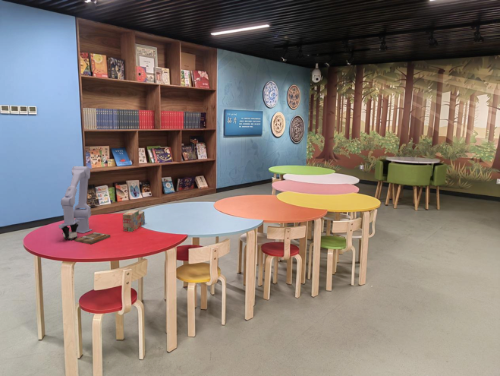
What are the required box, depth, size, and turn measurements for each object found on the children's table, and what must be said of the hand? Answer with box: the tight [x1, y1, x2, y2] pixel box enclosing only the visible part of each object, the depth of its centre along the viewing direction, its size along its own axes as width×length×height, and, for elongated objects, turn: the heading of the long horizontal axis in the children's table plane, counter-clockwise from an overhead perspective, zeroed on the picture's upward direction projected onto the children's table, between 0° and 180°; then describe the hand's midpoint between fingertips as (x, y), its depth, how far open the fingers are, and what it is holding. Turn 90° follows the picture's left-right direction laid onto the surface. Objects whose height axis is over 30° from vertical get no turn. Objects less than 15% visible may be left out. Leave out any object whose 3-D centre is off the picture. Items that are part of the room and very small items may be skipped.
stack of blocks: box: [122, 209, 146, 233], centre depth 268 cm, size 21×6×12 cm, turn 171°
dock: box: [73, 232, 111, 245], centre depth 241 cm, size 14×16×2 cm
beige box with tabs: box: [62, 230, 78, 241], centre depth 241 cm, size 8×4×4 cm, turn 67°
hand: (70, 236), depth 241 cm, fingers closed on beige box with tabs, 4 cm apart
